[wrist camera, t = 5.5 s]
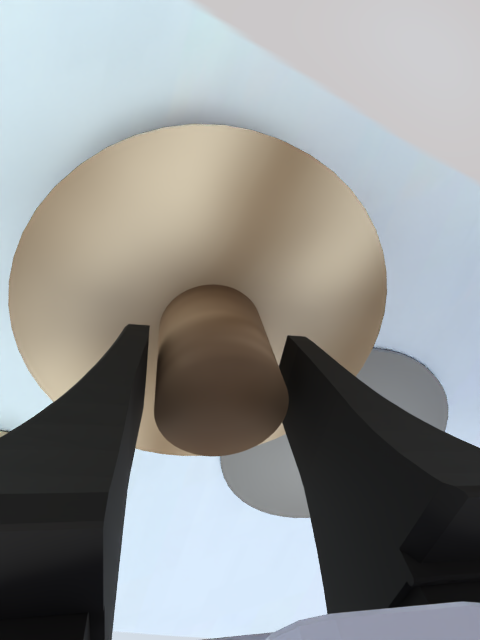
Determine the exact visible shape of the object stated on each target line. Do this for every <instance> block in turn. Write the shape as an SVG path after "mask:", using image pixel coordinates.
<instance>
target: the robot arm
mask: <svg viewBox="0 0 480 640" xmlns="http://www.w3.org/2000/svg"><path fill="white" fill-rule="evenodd" d="M149 330H150V325H137V324H128V325H127V326H125V327H124V329H123V331H122V332H121V334H120V335H119V337H118V338H117V339H116V341H115V342H114V343H113V344H112V346H111V347H110V348H109V349H108V351H107V352H106V353H105V354H104V355H103V356H102V358H101V359H100V360H99V361H98V362H97V363H96V364H95V365H94V366H93V367H92V368H91V369H90V370H89V371H88V372H87V373H86V374H85V375H84V376H83V377H82V378H81V379H80V380H79V381H78V382H77V383H76V384H75V385H74V386H73V387H72V388H70V389H69V390H68V391H67V392H66V393H64V394H63V395H62V396H61V397H60V398H58V399H57V400H56V401H55V402H53V403H52V404H50V405H49V406H48V407H46V408H45V409H44V410H42V411H41V412H40V413H38V414H37V415H35V416H34V417H32V418H31V419H30V420H28V421H27V422H25V423H23V424H22V425H20V426H18V427H17V428H15V429H13V430H12V431H10V432H8V433H7V434H5V435H3V436H1V437H0V640H111V639H112V630H113V620H114V610H115V600H116V591H117V581H118V572H119V562H120V553H121V544H122V534H123V525H124V516H125V507H126V498H127V489H128V483H129V477H130V471H131V466H132V462H133V457H134V452H135V447H136V442H137V438H138V433H139V428H140V423H141V418H142V413H143V408H144V397H145V387H146V374H147V359H148V345H149ZM279 369H280V371H281V374H282V377H283V379H284V382H285V385H286V387H287V390H288V395H289V404H288V410H287V413H286V416H285V418H284V420H283V422H282V424H283V427H284V430H285V433H286V436H287V438H288V441H289V444H290V447H291V450H292V453H293V456H294V459H295V462H296V465H297V468H298V470H299V473H300V477H301V480H302V484H303V487H304V491H305V496H306V500H307V505H308V509H309V513H310V518H311V523H312V528H313V533H314V538H315V542H316V547H317V553H318V558H319V564H320V570H321V575H322V581H323V587H324V593H325V600H326V606H327V613H328V614H327V615H322V616H318V617H313V618H308V619H304V620H299V621H297V622H295V623H293V624H290V625H288V626H286V627H284V628H282V629H280V630H278V631H276V632H273V633H263V634H253V635H243V636H234V637H224V638H214V639H204V640H480V448H478V447H476V446H474V445H472V444H469V443H467V442H465V441H463V440H460V439H458V438H456V437H454V436H452V435H450V434H448V433H446V432H444V431H442V430H440V429H438V428H436V427H434V426H432V425H430V424H428V423H426V422H424V421H423V420H421V419H419V418H417V417H415V416H414V415H412V414H410V413H408V412H407V411H405V410H403V409H402V408H400V407H399V406H397V405H395V404H394V403H392V402H391V401H389V400H387V399H386V398H384V397H383V396H381V395H380V394H378V393H377V392H376V391H374V390H373V389H372V388H370V387H369V386H367V385H366V384H365V383H363V382H362V381H361V380H359V379H358V378H357V377H355V376H354V375H353V374H352V373H350V372H349V371H348V370H347V369H345V368H344V367H343V366H342V365H340V364H339V363H338V362H337V361H336V360H334V359H333V358H332V357H331V356H330V355H328V354H327V353H326V352H325V351H324V350H322V349H321V348H320V347H319V346H317V345H316V344H315V343H314V342H312V341H311V340H310V339H308V338H307V337H305V336H291V335H287V339H286V342H285V346H284V349H283V353H282V357H281V360H280V364H279Z"/></svg>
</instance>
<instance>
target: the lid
mask: <svg viewBox="0 0 480 640" xmlns="http://www.w3.org/2000/svg"><path fill="white" fill-rule="evenodd" d="M386 295H387V279H386V267H385V261H384V255H383V250H382V247H381V244H380V241H379V238H378V235H377V232H376V229H375V227H374V225H373V223H372V221H371V219H370V217H369V216H368V214H367V212H366V210H365V208H364V207H363V205H362V204H361V203H360V201H359V200H358V199H357V197H356V196H355V194H354V193H353V192H352V190H351V189H350V188H349V187H348V186H347V185H346V184H345V183H344V182H343V181H342V180H341V179H340V178H339V177H338V176H337V175H336V174H335V173H334V172H333V171H332V170H330V169H329V168H328V167H326V166H325V165H323V164H322V163H321V162H319V161H318V160H317V159H315V158H314V157H312V156H311V155H309V154H307V153H306V152H304V151H302V150H300V149H298V148H296V147H294V146H292V145H290V144H288V143H286V142H284V141H282V140H280V139H277V138H274V137H271V136H268V135H265V134H262V133H259V132H257V131H254V130H250V129H244V128H238V127H233V126H227V125H215V124H188V125H179V126H170V127H163V128H159V129H155V130H152V131H148V132H144V133H141V134H137V135H134V136H132V137H129V138H127V139H125V140H122V141H120V142H118V143H115V144H113V145H111V146H109V147H107V148H105V149H104V150H102V151H100V152H99V153H97V154H96V155H94V156H92V157H91V158H89V159H88V160H86V161H85V162H83V163H82V164H80V165H79V166H78V167H77V168H76V169H74V170H73V171H72V172H71V173H70V174H69V175H68V176H66V177H65V178H64V179H63V180H62V181H61V182H60V183H58V184H57V185H56V186H55V187H54V188H53V189H52V191H51V192H50V193H49V194H48V195H47V197H46V198H45V199H44V200H43V202H42V203H41V204H40V205H39V206H38V208H37V209H36V211H35V212H34V214H33V216H32V217H31V219H30V221H29V223H28V224H27V226H26V228H25V229H24V231H23V233H22V236H21V239H20V241H19V244H18V247H17V249H16V252H15V255H14V258H13V263H12V268H11V273H10V279H9V303H8V306H9V313H10V320H11V327H12V331H13V334H14V337H15V340H16V343H17V347H18V350H19V352H20V354H21V356H22V358H23V360H24V362H25V364H26V366H27V368H28V370H29V372H30V373H31V374H32V376H33V377H34V379H35V380H36V382H37V383H38V385H39V386H40V388H41V389H42V390H43V391H44V392H45V393H46V394H47V395H48V396H49V398H50V399H51V400H52V401H53V402H55V401H56V400H57V399H58V398H60V397H61V396H62V395H63V394H64V393H66V392H67V391H68V390H69V389H70V388H72V387H73V386H74V385H75V384H76V383H77V382H78V381H79V380H80V379H81V378H82V377H83V376H84V375H85V374H86V373H87V372H88V371H89V370H90V369H91V368H92V367H93V366H94V365H95V364H96V363H97V362H98V361H99V360H100V359H101V358H102V356H103V355H104V354H105V353H106V352H107V351H108V349H109V348H110V347H111V346H112V344H113V343H114V342H115V341H116V339H117V338H118V337H119V335H120V334H121V332H122V331H123V329H124V327H125V326H127V325H128V324H137V325H150V330H149V345H148V359H147V374H146V387H145V397H144V408H143V413H142V418H141V423H140V428H139V433H138V438H137V442H136V447H135V448H136V449H140V450H144V451H149V452H154V453H160V454H169V455H180V456H226V455H231V454H236V453H240V452H243V451H246V450H248V449H251V448H253V447H255V446H258V445H260V444H263V443H266V442H268V441H271V440H274V439H276V438H278V437H281V436H283V435H285V434H286V433H285V430H284V427H283V424H282V422H283V420H284V418H285V416H286V413H287V410H288V404H289V395H288V390H287V387H286V385H285V382H284V379H283V377H282V374H281V371H280V369H279V364H280V360H281V357H282V353H283V349H284V346H285V342H286V339H287V335H291V336H305V337H307V338H308V339H310V340H311V341H312V342H314V343H315V344H316V345H317V346H319V347H320V348H321V349H322V350H324V351H325V352H326V353H327V354H328V355H330V356H331V357H332V358H333V359H334V360H336V361H337V362H338V363H339V364H340V365H342V366H343V367H344V368H345V369H347V370H348V371H349V372H350V373H352V374H353V375H354V376H355V377H356V375H357V374H358V373H359V371H360V370H361V368H362V367H363V365H364V363H365V362H366V360H367V358H368V356H369V355H370V353H371V351H372V349H373V346H374V344H375V341H376V339H377V336H378V334H379V331H380V327H381V324H382V320H383V316H384V311H385V303H386Z"/></svg>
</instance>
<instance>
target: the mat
mask: <svg viewBox="0 0 480 640" xmlns="http://www.w3.org/2000/svg"><path fill="white" fill-rule="evenodd" d="M356 377H357V378H358V379H359V380H361V381H362V382H363V383H365V384H366V385H367V386H369V387H370V388H372V389H373V390H374V391H376V392H377V393H378V394H380V395H381V396H383V397H384V398H386V399H387V400H389V401H391V402H392V403H394V404H395V405H397V406H399V407H400V408H402V409H403V410H405V411H407V412H408V413H410V414H412V415H414V416H415V417H417V418H419V419H421V420H423V421H424V422H426V423H428V424H430V425H432V426H434V427H436V428H438V429H440V430H442V431H444V432H445V429H446V425H447V420H448V403H447V397H446V394H445V392H444V389H443V387H442V385H441V384H440V383H439V381H438V380H437V378H436V377H435V376H434V375H433V374H432V373H431V372H430V371H429V370H428V369H427V368H426V367H425V366H424V365H422V364H421V363H419V362H418V361H416V360H415V359H413V358H411V357H408V356H406V355H404V354H401V353H397V352H394V351H390V350H384V349H376V348H373V349H372V351H371V353H370V355H369V356H368V358H367V360H366V362H365V363H364V365H363V367H362V368H361V370H360V371H359V373H358V374H357V375H356ZM220 459H221V468H222V472H223V475H224V478H225V480H226V482H227V484H228V486H229V488H230V489H231V490H232V491H233V493H234V494H235V495H236V496H237V497H238V498H240V499H241V500H242V501H243V502H245V503H246V504H248V505H249V506H251V507H253V508H255V509H258V510H260V511H262V512H266V513H269V514H272V515H277V516H282V517H292V518H310V513H309V509H308V505H307V500H306V496H305V491H304V487H303V484H302V480H301V477H300V473H299V470H298V468H297V465H296V462H295V459H294V456H293V453H292V450H291V447H290V444H289V441H288V438H287V436H286V434H285V435H283V436H281V437H278V438H276V439H274V440H271V441H268V442H266V443H263V444H260V445H258V446H255V447H253V448H251V449H248V450H246V451H243V452H240V453H236V454H231V455H226V456H220Z"/></svg>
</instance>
